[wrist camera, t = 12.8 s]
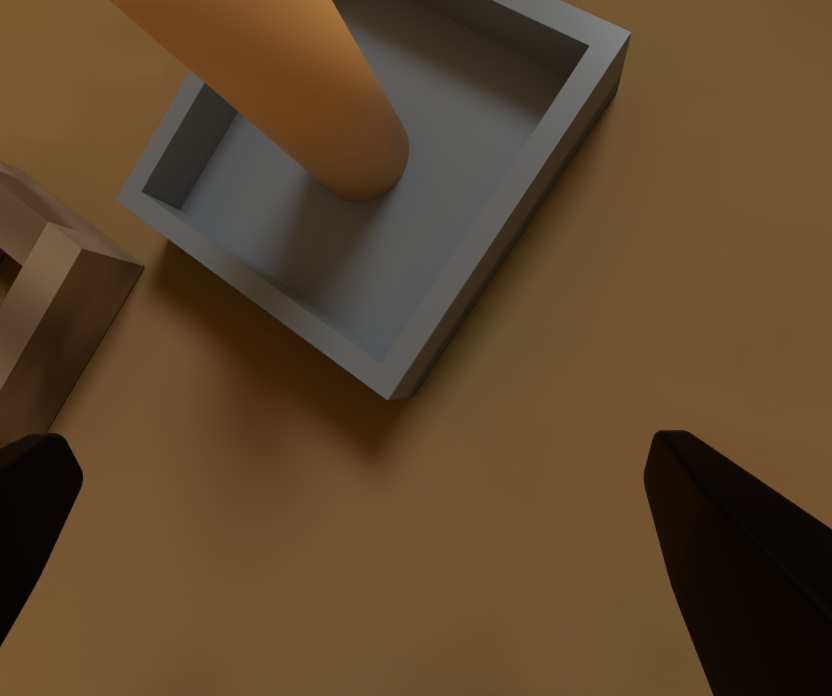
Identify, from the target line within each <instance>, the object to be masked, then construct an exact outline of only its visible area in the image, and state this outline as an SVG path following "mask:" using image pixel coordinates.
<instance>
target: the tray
mask: <svg viewBox="0 0 832 696" xmlns="http://www.w3.org/2000/svg"><path fill="white" fill-rule="evenodd" d="M332 2H333V3H334V5H335V7H336V9H337V10H338V12H339V14H340V16H341V17H342V19H343V21H344V23H345V24H346V26H347V28H348V30H349V31H350V33H351V35H352V37H353V38H354V40H355V42H356V44H357V45H358V47H359V49H360V51H361V53H362V54H363V56H364V58H365V60H366V61H367V63H368V65H369V67H370V68H371V70H372V72H373V74H374V75H375V77H376V79H377V81H378V82H379V84H380V86H381V88H382V89H383V91H384V93H385V95H386V96H387V98H388V100H389V102H390V104H391V105H392V107H393V109H394V111H395V112H396V114H397V116H398V118H399V119H400V121H401V123H402V125H403V126H404V128H405V130H406V133H407V136H408V140H409V157H408V162H407V165H406V168H405V170H404V172H403V174H402V176H401V178H400V179H399V180H398V182H397V183H396V184H395V185H394V186H393V187H392V188H391V189H390V190H389V191H388V192H386V193H385V194H383V195H382V196H380V197H378V198H375V199H372V200H369V201H364V202H352V201H347V200H344V199H341V198H340V197H338V196H336V195H335V194H333V193H332V192H331V191H330V190H328V189H327V188H326V187H325V186H324V185H323V184H321V183H320V182H319V181H318V180H317V179H316V178H315V177H313V176H312V175H311V174H310V173H309V172H308V171H306V170H305V169H304V168H303V167H302V166H301V165H300V164H298V163H297V162H296V161H295V160H294V159H293V158H291V157H290V156H289V155H288V154H287V153H286V152H284V151H283V150H282V149H281V148H280V147H279V146H278V145H276V144H275V143H274V142H273V141H272V140H271V139H269V138H268V137H267V136H266V135H265V134H264V133H263V132H261V131H260V130H259V129H258V128H257V127H256V126H254V125H253V124H252V123H251V122H250V121H249V120H248V119H246V118H245V117H244V116H243V115H242V114H241V113H239V112H238V111H237V110H236V109H235V108H234V107H232V106H231V105H230V104H229V103H228V102H227V101H226V100H224V99H223V98H222V97H221V96H220V95H219V94H217V93H216V92H215V91H214V90H213V89H212V88H211V87H209V86H208V85H207V84H206V83H205V82H204V81H202V80H201V79H200V78H199V77H198V76H197V75H196V74H194V73H193V72H192V71H191V70H190V72H189V73H188V75H187V77H186V79H185V80H184V82H183V84H182V86H181V87H180V89H179V91H178V92H177V94H176V96H175V98H174V99H173V101H172V103H171V105H170V106H169V108H168V110H167V111H166V113H165V115H164V117H163V118H162V120H161V122H160V124H159V125H158V127H157V129H156V131H155V132H154V134H153V136H152V137H151V139H150V141H149V143H148V144H147V146H146V148H145V150H144V151H143V153H142V155H141V156H140V158H139V160H138V162H137V163H136V165H135V167H134V169H133V170H132V172H131V174H130V175H129V177H128V179H127V181H126V182H125V184H124V186H123V188H122V189H121V191H120V193H119V194H118V196H117V198H116V201H117V202H119V203H120V204H122V205H123V206H124V207H126V208H127V209H128V210H130V211H131V212H132V213H134V214H135V215H136V216H138V217H139V218H141V219H142V220H143V221H145V222H146V223H147V224H149V225H150V226H151V227H153V228H154V229H155V230H157V231H158V232H160V233H161V234H162V235H164V236H165V237H166V238H168V239H169V240H170V241H172V242H173V243H174V244H176V245H177V246H179V247H180V248H181V249H183V250H184V251H185V252H187V253H188V254H189V255H191V256H192V257H193V258H195V259H196V260H198V261H199V262H200V263H202V264H203V265H204V266H206V267H207V268H208V269H210V270H211V271H212V272H214V273H215V274H217V275H218V276H219V277H221V278H222V279H223V280H225V281H226V282H227V283H229V284H230V285H231V286H233V287H234V288H236V289H237V290H238V291H240V292H241V293H242V294H244V295H245V296H246V297H248V298H249V299H250V300H252V301H253V302H254V303H256V304H257V305H259V306H260V307H261V308H263V309H264V310H265V311H267V312H268V313H269V314H271V315H272V316H273V317H275V318H276V319H278V320H279V321H280V322H282V323H283V324H284V325H286V326H287V327H288V328H290V329H291V330H292V331H294V332H295V333H297V334H298V335H299V336H301V337H302V338H303V339H305V340H306V341H307V342H309V343H310V344H311V345H313V346H314V347H316V348H317V349H318V350H320V351H321V352H322V353H324V354H325V355H326V356H328V357H329V358H330V359H332V360H333V361H335V362H336V363H337V364H339V365H340V366H341V367H343V368H344V369H345V370H347V371H348V372H349V373H351V374H352V375H354V376H355V377H356V378H358V379H359V380H360V381H362V382H363V383H364V384H366V385H367V386H368V387H370V388H371V389H373V390H374V391H375V392H377V393H378V394H379V395H381V396H382V397H383V398H385V399H386V400H387V401H388V400H396V399H403V398H411V397H413V396H414V395H415V393H416V392H417V390H418V389H419V387H420V386H421V384H422V383H423V381H424V380H425V378H426V377H427V375H428V374H429V372H430V371H431V369H432V368H433V366H434V365H435V363H436V362H437V360H438V359H439V357H440V356H441V354H442V353H443V351H444V350H445V348H446V347H447V345H448V344H449V342H450V341H451V339H452V338H453V336H454V335H455V333H456V332H457V330H458V329H459V327H460V326H461V324H462V323H463V321H464V320H465V318H466V317H467V315H468V314H469V312H470V311H471V309H472V308H473V306H474V305H475V303H476V302H477V300H478V299H479V297H480V296H481V294H482V293H483V291H484V290H485V288H486V287H487V285H488V284H489V282H490V281H491V279H492V278H493V276H494V275H495V273H496V272H497V270H498V269H499V267H500V266H501V264H502V263H503V261H504V260H505V258H506V257H507V255H508V254H509V252H510V251H511V249H512V248H513V246H514V245H515V243H516V242H517V240H518V239H519V237H520V236H521V234H522V233H523V231H524V230H525V228H526V227H527V225H528V224H529V222H530V221H531V219H532V218H533V216H534V215H535V213H536V212H537V210H538V209H539V207H540V206H541V204H542V203H543V201H544V200H545V198H546V197H547V195H548V194H549V192H550V191H551V189H552V188H553V186H554V185H555V183H556V182H557V180H558V179H559V177H560V176H561V174H562V173H563V171H564V170H565V168H566V167H567V165H568V164H569V162H570V161H571V159H572V158H573V156H574V155H575V153H576V152H577V150H578V149H579V147H580V146H581V144H582V143H583V141H584V140H585V138H586V137H587V135H588V134H589V132H590V131H591V129H592V128H593V126H594V125H595V123H596V122H597V120H598V119H599V117H600V116H601V114H602V113H603V111H604V110H605V108H606V107H607V105H608V104H609V102H610V101H611V99H612V98H613V96H614V95H615V93H616V92H617V90H618V86H619V82H620V77H621V73H622V69H623V65H624V61H625V57H626V52H627V48H628V44H629V40H630V36H631V32H629V31H627V30H625V29H623V28H621V27H618V26H616V25H614V24H612V23H609V22H607V21H605V20H603V19H600V18H598V17H596V16H594V15H592V14H589V13H587V12H585V11H583V10H580V9H578V8H576V7H574V6H572V5H569V4H567V3H565V2H563V1H560V0H332Z"/></svg>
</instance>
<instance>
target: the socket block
mask: <svg viewBox="0 0 832 696" xmlns="http://www.w3.org/2000/svg"><path fill="white" fill-rule="evenodd" d="M5 253H7V254H8V255H10V256H11V257H12V258H13V259H14V260H16V261H17V262H18V263H19V264H20V265H22V266H23V267H22V269H21V271H20V272H19V274H18V276H17V278H16V279H15V281H14V283H13V285H12V286H11V288H10V290H9V292H8V294H7V295H6V297H5V299H4V301H3V302H2V304H1V306H0V444H2V443H11V442H15V441H17V440H19V439H21V438H23V437H25V436H27V435H30V434H35V433H46V431H47V430H48V428H49V426H50V425H51V423H52V421H53V420H54V418H55V416H56V415H57V413H58V411H59V410H60V408H61V406H62V404H63V403H64V401H65V399H66V398H67V396H68V394H69V393H70V391H71V389H72V388H73V386H74V384H75V383H76V381H77V379H78V377H79V376H80V374H81V372H82V371H83V369H84V367H85V366H86V364H87V362H88V361H89V359H90V357H91V356H92V354H93V352H94V350H95V349H96V347H97V345H98V344H99V342H100V340H101V339H102V337H103V335H104V334H105V332H106V330H107V329H108V327H109V325H110V323H111V322H112V320H113V318H114V317H115V315H116V313H117V312H118V310H119V308H120V307H121V305H122V303H123V302H124V300H125V298H126V296H127V295H128V293H129V291H130V290H131V288H132V286H133V285H134V283H135V281H136V280H137V278H138V276H139V275H140V273H141V271H142V269H143V268H144V265H142V264H141V263H140V262H138V261H137V260H136V259H135V258H133V257H132V256H131V255H129V254H128V253H127V252H125V251H124V250H123V249H122V248H120V247H119V246H118V245H116V244H115V243H114V242H112V241H111V240H110V239H108V238H107V237H106V236H105V235H103V234H102V233H101V232H99V231H98V230H97V229H95V228H94V227H93V226H92V225H90V224H89V223H88V222H86V221H85V220H84V219H82V218H81V217H80V216H79V215H77V214H76V213H75V212H73V211H72V210H71V209H69V208H68V207H67V206H66V205H64V204H63V203H62V202H60V201H59V200H58V199H56V198H55V197H54V196H53V195H51V194H50V193H49V192H47V191H46V190H45V189H43V188H42V187H41V186H40V185H38V184H37V183H36V182H34V181H33V180H32V179H30V178H29V177H28V176H27V175H25V174H24V173H23V172H21V171H20V170H19V169H17V168H16V167H14V166H12V165H9V164H7V163H4V162H2V161H0V261H1V260H2V258H3V256H4V254H5Z"/></svg>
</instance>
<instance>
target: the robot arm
mask: <svg viewBox="0 0 832 696" xmlns="http://www.w3.org/2000/svg"><path fill="white" fill-rule="evenodd" d="M82 483H83V472H82V469H81V467H80V465H79V464H78V462H77V460H76V458H75V456H74V454H73V452H72V450H71V448H70V446H69V445H68V443H67V441H66V439H65V438H64V437H63V436H61V435H60V434H56V433H35V434H30V435H27V436H25V437H23V438H21V439H19V440H17V441H15V442H13V443H11V444H9V445H7V446H5V447H3V448H1V449H0V647H1V645H2V643H3V641H4V640H5V638H6V636H7V635H8V633H9V631H10V629H11V628H12V626H13V624H14V622H15V621H16V619H17V617H18V615H19V614H20V612H21V610H22V608H23V607H24V605H25V603H26V601H27V600H28V598H29V596H30V594H31V593H32V591H33V589H34V587H35V585H36V583H37V582H38V580H39V578H40V576H41V574H42V572H43V570H44V568H45V565H46V563H47V561H48V559H49V557H50V555H51V553H52V550H53V548H54V546H55V544H56V542H57V539H58V537H59V535H60V533H61V531H62V528H63V526H64V524H65V522H66V520H67V518H68V515H69V513H70V511H71V509H72V507H73V504H74V502H75V500H76V498H77V496H78V494H79V491H80V489H81V487H82ZM644 485H645V490H646V494H647V497H648V501H649V505H650V509H651V512H652V516H653V520H654V524H655V527H656V531H657V535H658V539H659V542H660V546H661V550H662V554H663V558H664V561H665V565H666V569H667V572H668V576H669V579H670V582H671V586H672V589H673V592H674V594H675V597H676V600H677V603H678V605H679V608H680V611H681V613H682V616H683V618H684V621H685V623H686V626H687V629H688V631H689V634H690V636H691V639H692V642H693V644H694V647H695V649H696V652H697V654H698V657H699V660H700V662H701V665H702V667H703V670H704V672H705V675H706V678H707V680H708V683H709V685H710V688H711V690H712V693H713V696H832V529H831V528H829V527H828V526H826V525H825V524H823V523H822V522H820V521H819V520H818V519H816V518H815V517H813V516H812V515H810V514H809V513H807V512H806V511H804V510H803V509H801V508H800V507H798V506H797V505H796V504H794V503H793V502H791V501H790V500H788V499H787V498H785V497H784V496H782V495H781V494H779V493H778V492H776V491H775V490H774V489H772V488H771V487H769V486H768V485H766V484H765V483H763V482H762V481H760V480H759V479H757V478H756V477H754V476H753V475H752V474H750V473H749V472H747V471H746V470H744V469H743V468H741V467H740V466H738V465H737V464H735V463H734V462H732V461H731V460H730V459H728V458H727V457H725V456H724V455H722V454H721V453H719V452H718V451H716V450H715V449H713V448H712V447H710V446H709V445H708V444H706V443H705V442H703V441H702V440H700V439H699V438H697V437H696V436H694V435H693V434H691V433H690V432H688V431H683V430H661V431H658V432H657V433H656V434H655V435H654V437H653V439H652V443H651V447H650V451H649V455H648V459H647V462H646V466H645V470H644Z"/></svg>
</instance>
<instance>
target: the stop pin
mask: <svg viewBox="0 0 832 696" xmlns="http://www.w3.org/2000/svg"><path fill="white" fill-rule="evenodd" d="M110 1H111V2H112V3H113V4H115V5H116V6H117V7H118V8H119V9H120V10H122V11H123V12H124V13H125V14H126V15H127V16H128V17H130V18H131V19H132V20H133V21H134V22H135V23H137V24H138V25H139V26H140V27H141V28H142V29H144V30H145V31H146V32H147V33H148V34H149V35H150V36H152V37H153V38H154V39H155V40H156V41H157V42H159V43H160V44H161V45H162V46H163V47H164V48H165V49H167V50H168V51H169V52H170V53H171V54H172V55H174V56H175V57H176V58H177V59H178V60H179V61H180V62H182V63H183V64H184V65H185V66H186V67H187V68H189V69H190V70H191V71H192V72H193V73H194V74H196V75H197V76H198V77H199V78H200V79H201V80H202V81H204V82H205V83H206V84H207V85H208V86H209V87H211V88H212V89H213V90H214V91H215V92H216V93H217V94H219V95H220V96H221V97H222V98H223V99H224V100H226V101H227V102H228V103H229V104H230V105H231V106H232V107H234V108H235V109H236V110H237V111H238V112H239V113H241V114H242V115H243V116H244V117H245V118H246V119H248V120H249V121H250V122H251V123H252V124H253V125H254V126H256V127H257V128H258V129H259V130H260V131H261V132H263V133H264V134H265V135H266V136H267V137H268V138H269V139H271V140H272V141H273V142H274V143H275V144H276V145H278V146H279V147H280V148H281V149H282V150H283V151H284V152H286V153H287V154H288V155H289V156H290V157H291V158H293V159H294V160H295V161H296V162H297V163H298V164H300V165H301V166H302V167H303V168H304V169H305V170H306V171H308V172H309V173H310V174H311V175H312V176H313V177H315V178H316V179H317V180H318V181H319V182H320V183H321V184H323V185H324V186H325V187H326V188H327V189H328V190H330V191H331V192H332V193H333V194H335V195H336V196H338V197H340V198H341V199H344V200H347V201H352V202H364V201H369V200H372V199H375V198H378V197H380V196H382V195H383V194H385V193H386V192H388V191H389V190H390V189H391V188H392V187H393V186H394V185H395V184H396V183H397V182H398V180H399V179H400V178H401V176H402V174H403V172H404V170H405V168H406V165H407V162H408V157H409V140H408V136H407V133H406V130H405V128H404V126H403V125H402V123H401V121H400V119H399V118H398V116H397V114H396V112H395V111H394V109H393V107H392V105H391V104H390V102H389V100H388V98H387V96H386V95H385V93H384V91H383V89H382V88H381V86H380V84H379V82H378V81H377V79H376V77H375V75H374V74H373V72H372V70H371V68H370V67H369V65H368V63H367V61H366V60H365V58H364V56H363V54H362V53H361V51H360V49H359V47H358V45H357V44H356V42H355V40H354V38H353V37H352V35H351V33H350V31H349V30H348V28H347V26H346V24H345V23H344V21H343V19H342V17H341V16H340V14H339V12H338V10H337V9H336V7H335V5H334V3H333V2H332V0H110Z"/></svg>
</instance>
